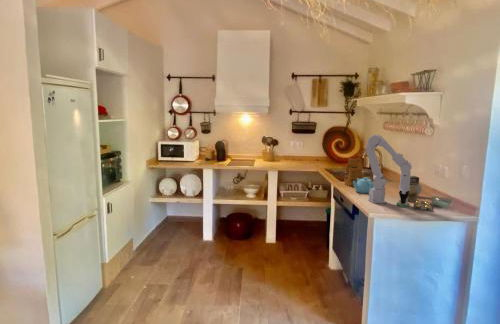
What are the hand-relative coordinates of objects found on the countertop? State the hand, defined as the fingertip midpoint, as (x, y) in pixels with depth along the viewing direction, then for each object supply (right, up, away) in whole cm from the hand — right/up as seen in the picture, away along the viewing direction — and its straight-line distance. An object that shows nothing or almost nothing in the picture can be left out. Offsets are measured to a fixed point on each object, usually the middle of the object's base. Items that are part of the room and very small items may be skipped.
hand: (403, 202), depth 208 cm
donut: (+19, +1, +25) cm, 32 cm away
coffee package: (-14, +7, +58) cm, 60 cm away
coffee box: (+10, 0, +14) cm, 18 cm away
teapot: (-12, +4, +36) cm, 38 cm away
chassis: (+10, -3, -5) cm, 11 cm away
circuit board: (0, -2, 0) cm, 2 cm away
